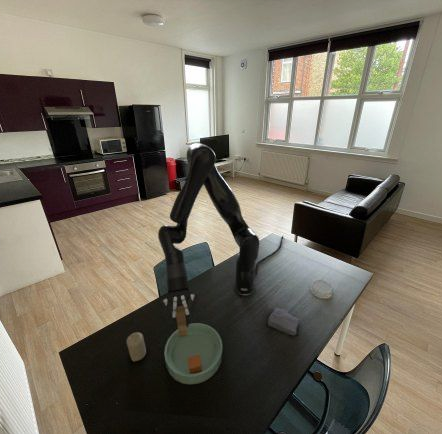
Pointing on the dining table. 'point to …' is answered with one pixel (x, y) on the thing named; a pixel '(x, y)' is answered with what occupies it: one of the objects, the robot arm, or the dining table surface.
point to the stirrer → (181, 321)
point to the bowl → (193, 353)
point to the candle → (136, 346)
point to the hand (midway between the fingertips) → (182, 327)
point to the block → (195, 364)
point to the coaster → (321, 289)
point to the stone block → (284, 321)
